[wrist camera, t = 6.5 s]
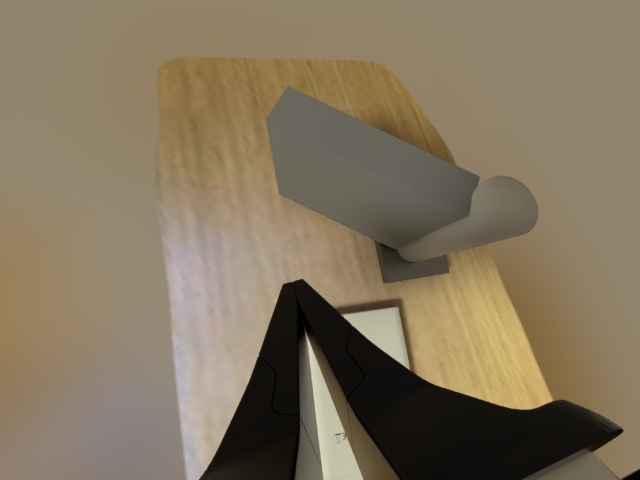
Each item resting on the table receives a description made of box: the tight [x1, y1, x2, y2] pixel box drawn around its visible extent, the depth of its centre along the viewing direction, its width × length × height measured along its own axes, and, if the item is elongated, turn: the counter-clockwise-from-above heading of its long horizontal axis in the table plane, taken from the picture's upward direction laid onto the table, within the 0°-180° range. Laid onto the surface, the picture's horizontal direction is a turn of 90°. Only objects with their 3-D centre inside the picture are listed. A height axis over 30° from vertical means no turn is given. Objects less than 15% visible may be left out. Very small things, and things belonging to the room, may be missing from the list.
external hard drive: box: [307, 306, 410, 480], centre depth 19 cm, size 2×8×12 cm
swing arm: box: [266, 86, 538, 262], centre depth 16 cm, size 3×15×10 cm, turn 65°
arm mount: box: [375, 240, 450, 283], centre depth 22 cm, size 6×6×1 cm
